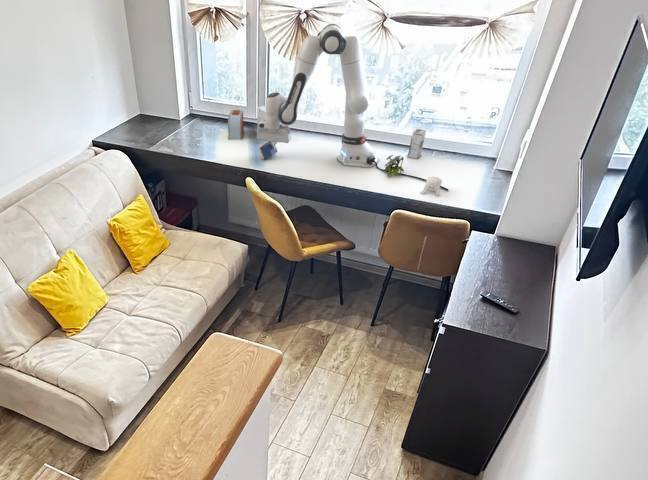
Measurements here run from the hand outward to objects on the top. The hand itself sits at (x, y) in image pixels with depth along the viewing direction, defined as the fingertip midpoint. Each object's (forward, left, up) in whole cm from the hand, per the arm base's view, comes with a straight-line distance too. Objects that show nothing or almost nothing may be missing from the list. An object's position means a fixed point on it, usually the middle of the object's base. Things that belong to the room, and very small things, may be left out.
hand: (273, 148), depth 314 cm
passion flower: (-69, -9, -6) cm, 70 cm away
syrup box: (-73, -35, -6) cm, 82 cm away
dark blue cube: (+1, 0, 0) cm, 1 cm away
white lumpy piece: (-93, +6, -6) cm, 94 cm away
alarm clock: (+39, -24, -6) cm, 46 cm away
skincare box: (+19, -29, -6) cm, 35 cm away
